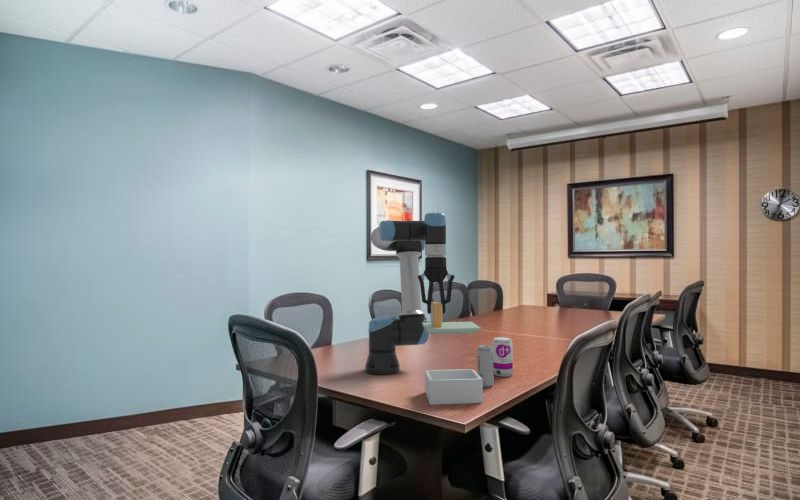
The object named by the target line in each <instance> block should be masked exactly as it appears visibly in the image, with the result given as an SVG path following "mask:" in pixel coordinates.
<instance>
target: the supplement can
mask: <svg viewBox="0 0 800 500" xmlns="http://www.w3.org/2000/svg"><path fill="white" fill-rule="evenodd" d="M491 348H492V350H493V373H494V376H496V377H504V378H507V377H511V376H512V375H513V373H514V367H513V366H514V365H513V364H514V362H513V361H514V359H513V358H514V357H513V355H514V353H513V350H514V349H513V341H512V340H511V337H506V336H496V337H494V338H493V339H492V342H491Z"/></svg>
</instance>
